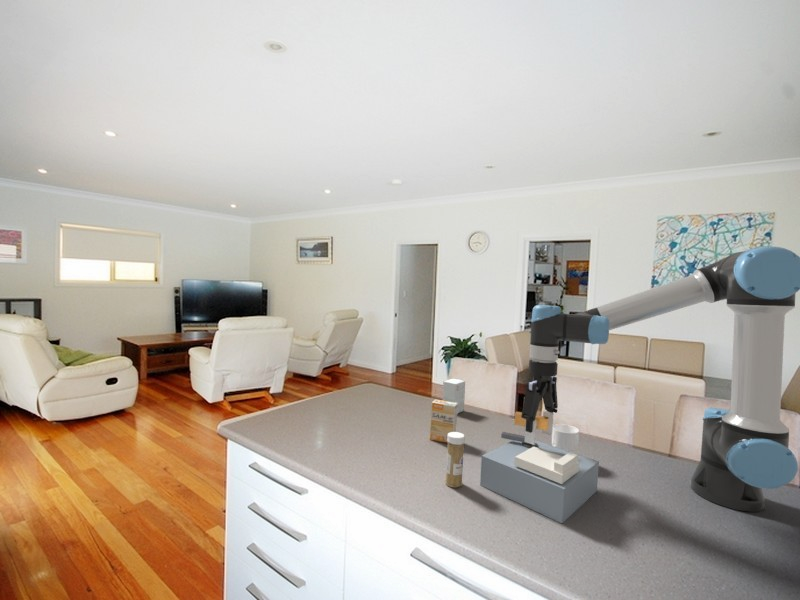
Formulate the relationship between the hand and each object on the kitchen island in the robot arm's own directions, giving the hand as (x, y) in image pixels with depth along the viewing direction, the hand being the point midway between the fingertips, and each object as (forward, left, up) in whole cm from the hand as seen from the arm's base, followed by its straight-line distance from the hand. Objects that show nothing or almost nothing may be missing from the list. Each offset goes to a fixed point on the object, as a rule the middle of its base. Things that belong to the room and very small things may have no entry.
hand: (538, 438), depth 110 cm
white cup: (0, -17, -11) cm, 20 cm away
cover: (-7, +11, -3) cm, 14 cm away
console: (-3, +6, -11) cm, 13 cm away
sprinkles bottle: (+13, +22, -11) cm, 28 cm away
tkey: (+4, +1, -2) cm, 5 cm away
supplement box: (+34, +1, -11) cm, 35 cm away
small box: (+50, -26, -11) cm, 58 cm away
